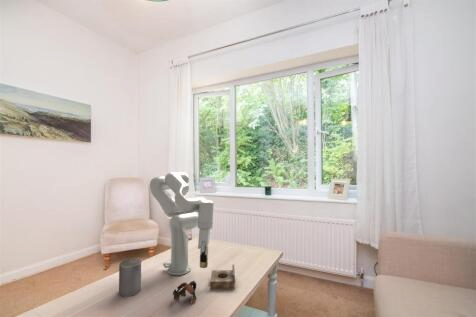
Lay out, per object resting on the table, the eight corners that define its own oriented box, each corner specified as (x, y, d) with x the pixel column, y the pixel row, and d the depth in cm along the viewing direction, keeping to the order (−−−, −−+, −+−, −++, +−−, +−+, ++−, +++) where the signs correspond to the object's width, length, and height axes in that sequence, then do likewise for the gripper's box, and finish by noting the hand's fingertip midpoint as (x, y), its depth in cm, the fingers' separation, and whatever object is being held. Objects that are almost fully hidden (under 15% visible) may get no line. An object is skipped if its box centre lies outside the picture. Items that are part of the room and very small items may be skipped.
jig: (210, 288, 114) (210, 275, 114) (211, 276, 126) (212, 264, 126) (234, 288, 115) (234, 275, 115) (234, 276, 127) (234, 264, 127)
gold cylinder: (199, 268, 118) (199, 248, 118) (200, 264, 122) (200, 245, 122) (207, 268, 118) (207, 248, 118) (207, 264, 122) (208, 245, 122)
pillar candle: (119, 288, 115) (119, 257, 115) (141, 284, 118) (141, 254, 118) (117, 299, 106) (118, 265, 106) (141, 294, 109) (141, 262, 110)
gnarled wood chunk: (190, 310, 99) (180, 293, 99) (175, 313, 103) (166, 297, 103) (205, 289, 110) (196, 274, 109) (191, 292, 114) (182, 278, 114)
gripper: (199, 219, 128) (198, 253, 128) (195, 229, 111) (193, 267, 112) (213, 220, 128) (212, 253, 129) (211, 230, 112) (209, 268, 112)
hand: (203, 259), depth 120 cm, fingers closed on gold cylinder, 4 cm apart
